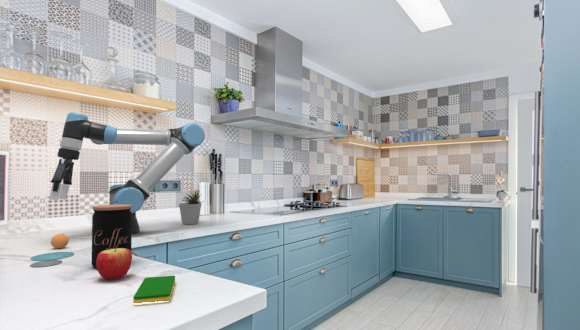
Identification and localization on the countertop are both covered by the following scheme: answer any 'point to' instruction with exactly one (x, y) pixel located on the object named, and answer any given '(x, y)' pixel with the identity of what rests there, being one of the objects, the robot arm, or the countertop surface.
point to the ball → (59, 241)
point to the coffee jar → (111, 228)
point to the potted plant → (190, 210)
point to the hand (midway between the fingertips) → (58, 199)
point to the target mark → (52, 256)
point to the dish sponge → (155, 289)
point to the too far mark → (46, 263)
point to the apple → (114, 262)
